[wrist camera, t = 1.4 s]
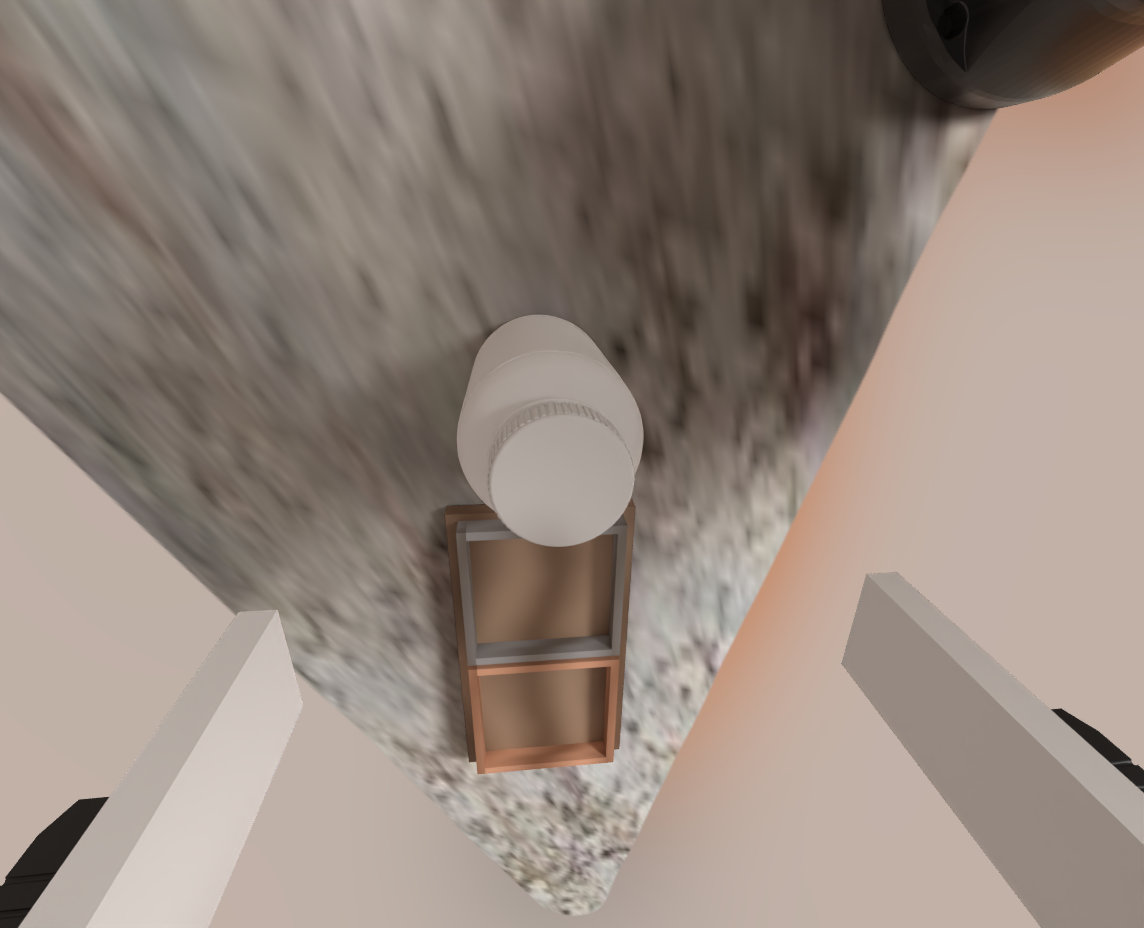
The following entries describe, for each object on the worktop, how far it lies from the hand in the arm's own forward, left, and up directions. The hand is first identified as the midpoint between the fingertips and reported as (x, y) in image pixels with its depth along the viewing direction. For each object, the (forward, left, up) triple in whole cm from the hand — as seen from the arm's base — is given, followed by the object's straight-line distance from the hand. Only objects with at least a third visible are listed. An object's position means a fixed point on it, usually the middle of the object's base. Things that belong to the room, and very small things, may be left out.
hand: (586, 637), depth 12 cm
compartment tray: (0, +20, -22) cm, 30 cm away
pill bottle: (0, 0, -23) cm, 23 cm away
